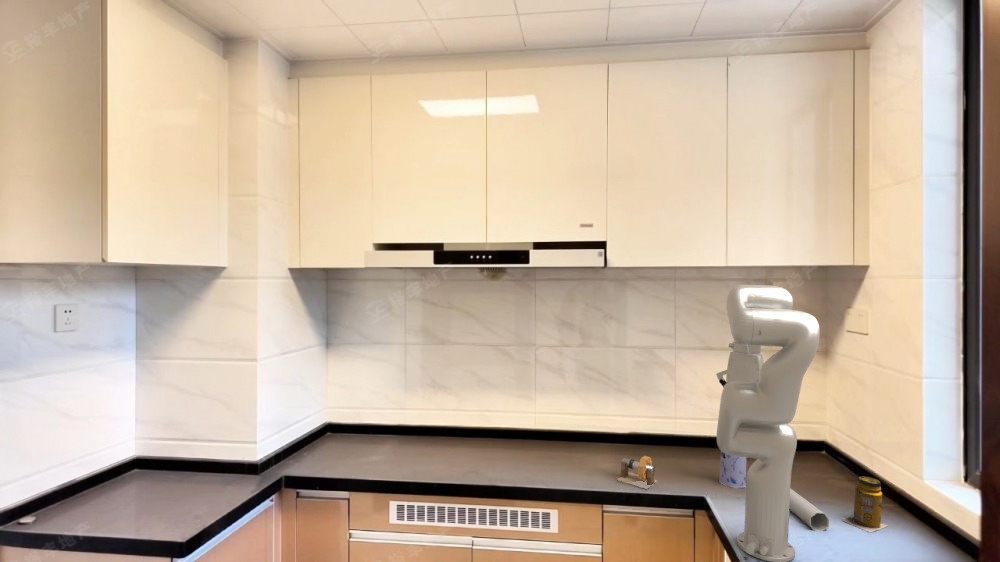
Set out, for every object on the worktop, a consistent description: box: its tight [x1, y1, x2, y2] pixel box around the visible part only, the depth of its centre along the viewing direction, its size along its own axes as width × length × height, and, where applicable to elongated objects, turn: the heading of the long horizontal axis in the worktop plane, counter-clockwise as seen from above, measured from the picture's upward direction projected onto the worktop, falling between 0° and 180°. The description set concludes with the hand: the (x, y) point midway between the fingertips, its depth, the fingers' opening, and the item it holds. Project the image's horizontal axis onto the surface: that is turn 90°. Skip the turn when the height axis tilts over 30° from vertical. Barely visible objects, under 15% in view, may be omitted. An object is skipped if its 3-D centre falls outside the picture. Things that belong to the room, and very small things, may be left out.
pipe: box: [621, 457, 655, 474], centre depth 166 cm, size 3×10×3 cm, turn 50°
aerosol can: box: [718, 450, 748, 489], centre depth 167 cm, size 8×8×20 cm
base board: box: [616, 460, 658, 485], centre depth 166 cm, size 8×10×6 cm
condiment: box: [842, 476, 889, 534], centre depth 142 cm, size 7×8×12 cm
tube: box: [789, 487, 830, 532], centre depth 150 cm, size 5×5×25 cm
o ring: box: [637, 455, 654, 481], centre depth 165 cm, size 7×2×7 cm, turn 140°
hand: (744, 404), depth 161 cm, fingers open, 9 cm apart
